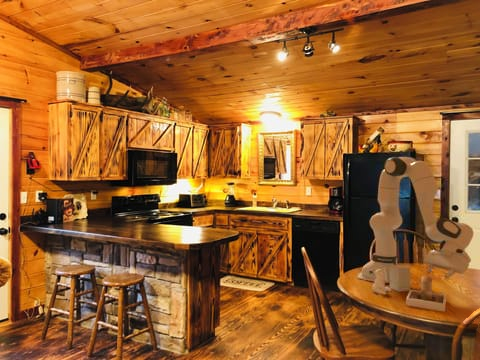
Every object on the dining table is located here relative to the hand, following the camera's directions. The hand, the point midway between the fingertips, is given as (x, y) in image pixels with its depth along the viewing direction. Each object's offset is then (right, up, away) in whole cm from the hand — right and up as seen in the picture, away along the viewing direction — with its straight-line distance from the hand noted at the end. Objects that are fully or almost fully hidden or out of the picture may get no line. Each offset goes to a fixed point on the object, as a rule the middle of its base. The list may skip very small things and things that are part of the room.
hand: (437, 274), depth 183 cm
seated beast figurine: (-21, -13, +15) cm, 29 cm away
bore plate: (-7, -12, -3) cm, 14 cm away
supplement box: (-10, -13, +19) cm, 25 cm away
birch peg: (-7, -12, -3) cm, 14 cm away
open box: (-7, -13, -3) cm, 15 cm away
